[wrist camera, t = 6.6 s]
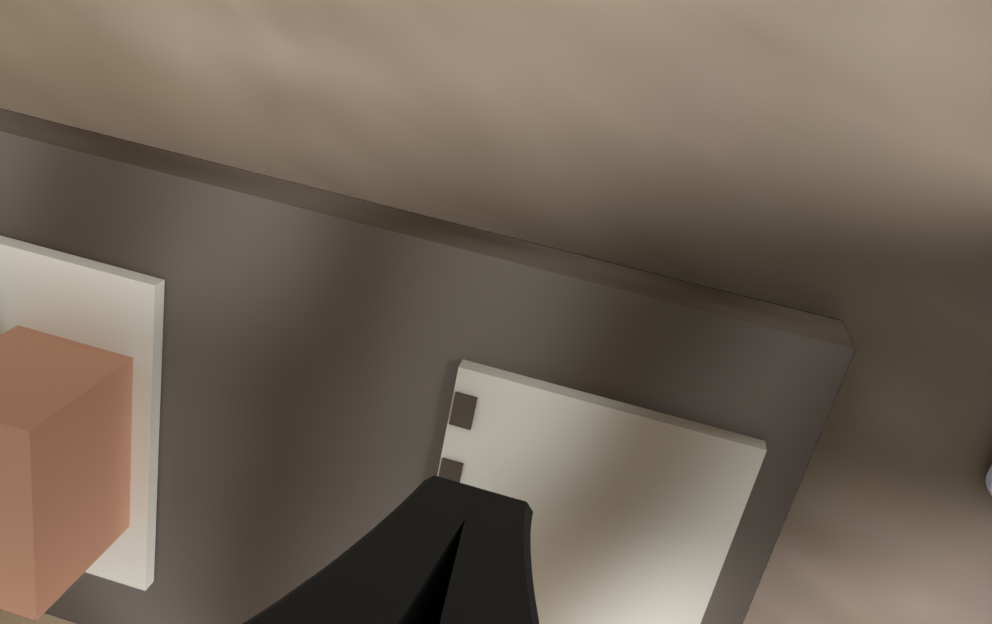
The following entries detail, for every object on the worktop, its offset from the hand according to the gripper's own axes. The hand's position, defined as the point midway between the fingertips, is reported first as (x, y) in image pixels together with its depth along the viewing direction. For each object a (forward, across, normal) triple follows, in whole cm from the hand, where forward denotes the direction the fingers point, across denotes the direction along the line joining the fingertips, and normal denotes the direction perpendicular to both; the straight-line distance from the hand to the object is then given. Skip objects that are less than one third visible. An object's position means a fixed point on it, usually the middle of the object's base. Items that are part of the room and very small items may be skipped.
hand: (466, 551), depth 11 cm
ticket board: (+9, +5, +6) cm, 12 cm away
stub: (+8, +12, +6) cm, 15 cm away
